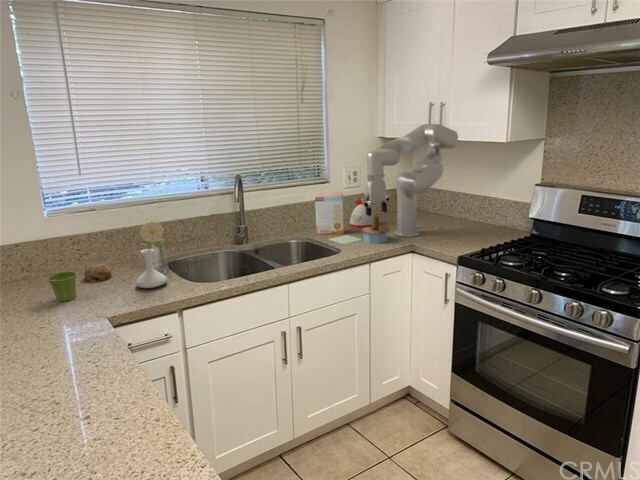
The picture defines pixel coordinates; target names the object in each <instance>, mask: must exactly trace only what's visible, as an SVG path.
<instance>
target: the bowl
mask: <svg viewBox="0 0 640 480" xmlns="http://www.w3.org/2000/svg"><path fill="white" fill-rule="evenodd" d="M362 233H363V232H362ZM363 242H364V243H368V244H384V243H387V242H388V233H385V234H366V233H363Z"/></svg>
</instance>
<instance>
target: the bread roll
mask: <svg viewBox="0 0 640 480" xmlns="http://www.w3.org/2000/svg"><path fill="white" fill-rule="evenodd" d="M110 277H111V278H112V270H111V267H110V265H107V264H105V263H102V262H96V263H94V264H91V265H90V266H88V267H87V268H86V269H85V271H84V279H85V280H86V281H88V282H89V281H91V283H95V282H96V281H98V282H102V281H101V280H104V281H107V280H109V279H111V278H110ZM106 279H107V280H106ZM96 283H97V282H96Z"/></svg>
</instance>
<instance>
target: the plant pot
mask: <svg viewBox="0 0 640 480" xmlns="http://www.w3.org/2000/svg"><path fill="white" fill-rule="evenodd" d="M77 276H78V272H76V271H63V272H62V271H61V272H57V273H54V274H51V275H49V276H48V277H47V278H46V279H47V281H48V282H49V284H50V285H51V288H52V290H53V293H54V296H55V299H56V300H57V301H58V302H61V301H64V302H66V301H72V300H73V299H76V298H77V287H76V285H77V283H76V279H77Z"/></svg>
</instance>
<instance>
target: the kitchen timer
mask: <svg viewBox="0 0 640 480" xmlns="http://www.w3.org/2000/svg"><path fill="white" fill-rule="evenodd" d="M362 198H363V197H362ZM362 198H359V197H358V198H357V199H355V204H356V207H355V208H354V209H353V211H352V213H351V215H350V219H349V226H350V227H352V228H356V229H357V228H358V229H359V228H360V229H363V228H365V227H370V226H372V217H375V216H374V214H373V211H372V210H371V214H372V215H371V216H368V215H366V207H365V206H364V205H363V203H362V201H361V199H362Z"/></svg>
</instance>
